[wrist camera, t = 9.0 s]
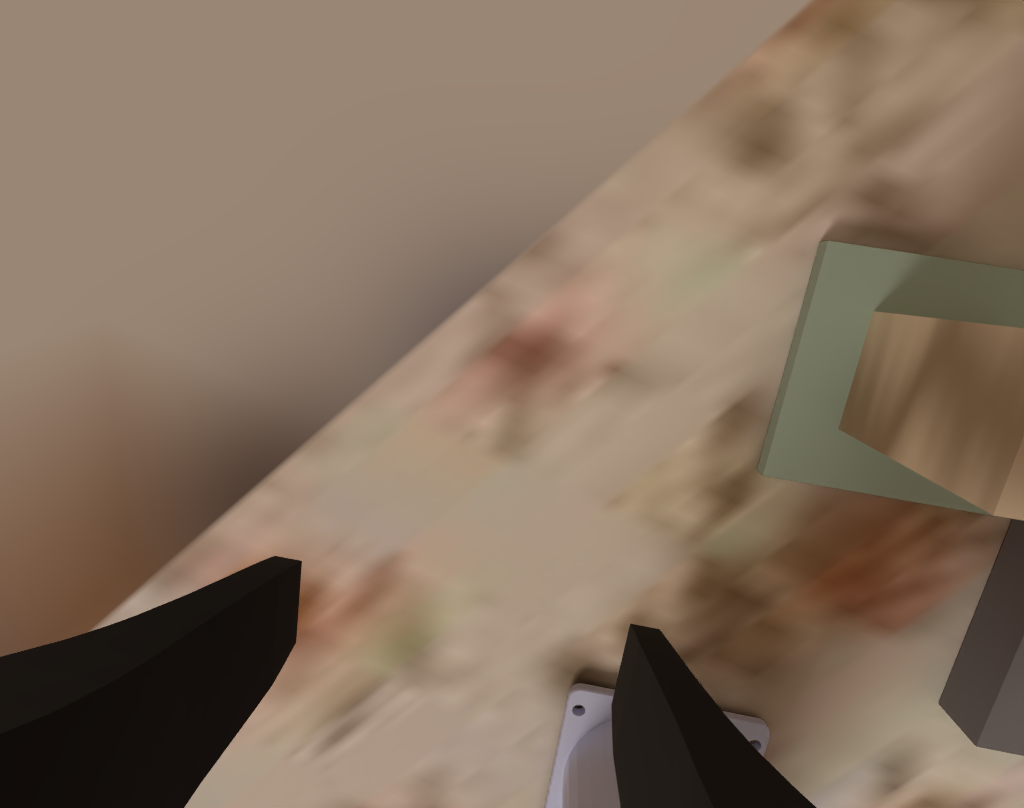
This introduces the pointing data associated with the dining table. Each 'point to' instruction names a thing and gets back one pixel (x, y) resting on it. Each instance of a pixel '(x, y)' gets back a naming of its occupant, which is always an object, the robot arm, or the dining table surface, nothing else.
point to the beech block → (945, 405)
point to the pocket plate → (994, 658)
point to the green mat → (837, 348)
